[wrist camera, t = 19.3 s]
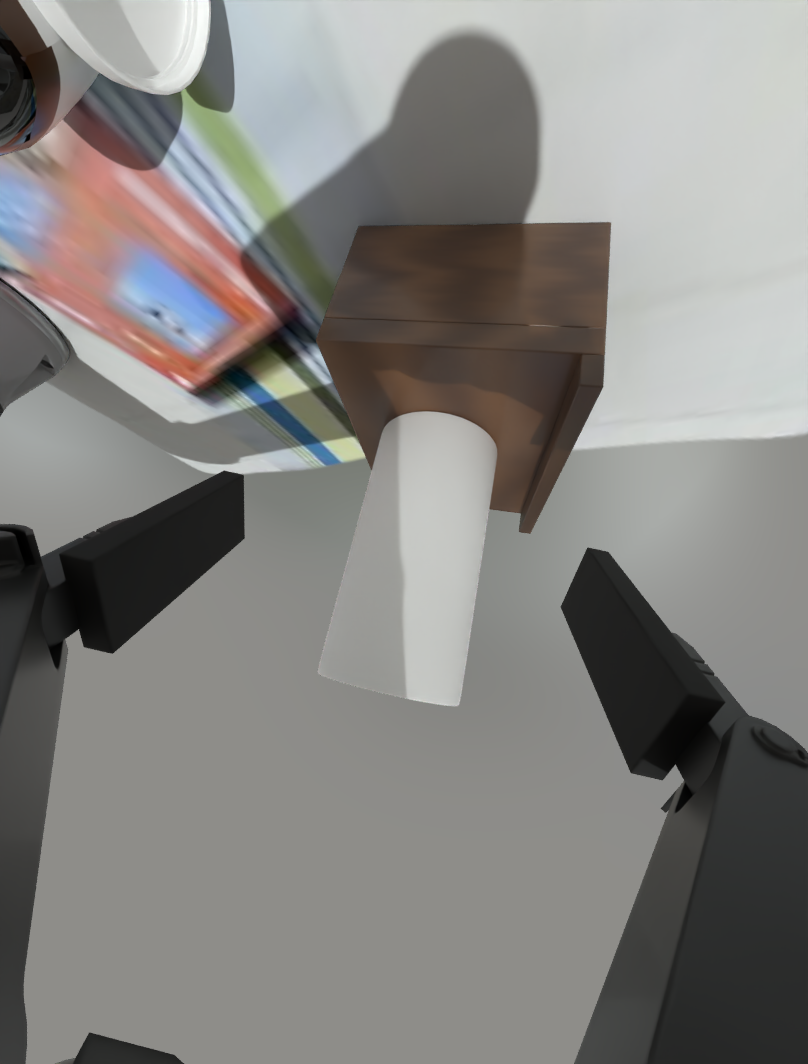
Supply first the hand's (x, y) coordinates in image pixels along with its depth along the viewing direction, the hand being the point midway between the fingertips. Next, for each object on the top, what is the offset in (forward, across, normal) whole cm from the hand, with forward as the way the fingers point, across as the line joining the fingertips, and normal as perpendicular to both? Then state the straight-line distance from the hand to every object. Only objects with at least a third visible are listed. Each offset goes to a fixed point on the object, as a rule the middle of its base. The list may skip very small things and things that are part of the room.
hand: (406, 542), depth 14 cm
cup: (+14, +1, +1) cm, 14 cm away
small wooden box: (+20, +2, +7) cm, 21 cm away
